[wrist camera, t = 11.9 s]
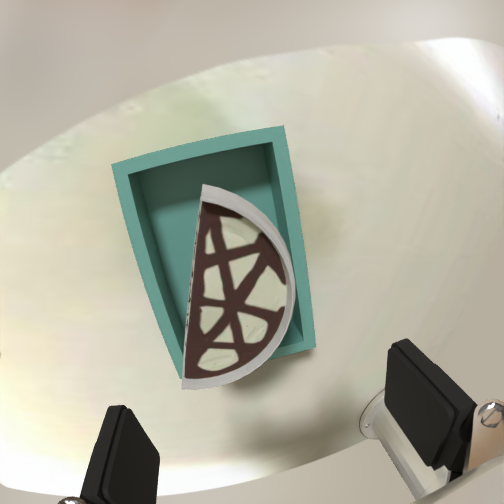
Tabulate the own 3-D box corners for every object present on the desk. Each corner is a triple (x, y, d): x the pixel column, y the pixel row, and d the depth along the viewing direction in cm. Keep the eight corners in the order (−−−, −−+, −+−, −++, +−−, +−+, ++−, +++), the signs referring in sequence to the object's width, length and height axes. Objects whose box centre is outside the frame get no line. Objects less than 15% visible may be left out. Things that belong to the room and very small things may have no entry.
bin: (270, 131, 24) (283, 125, 20) (301, 322, 29) (316, 347, 25) (127, 163, 23) (111, 164, 18) (182, 349, 28) (180, 378, 24)
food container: (253, 324, 28) (277, 399, 18) (186, 318, 26) (181, 395, 17) (279, 188, 24) (327, 207, 15) (203, 176, 23) (202, 187, 14)
